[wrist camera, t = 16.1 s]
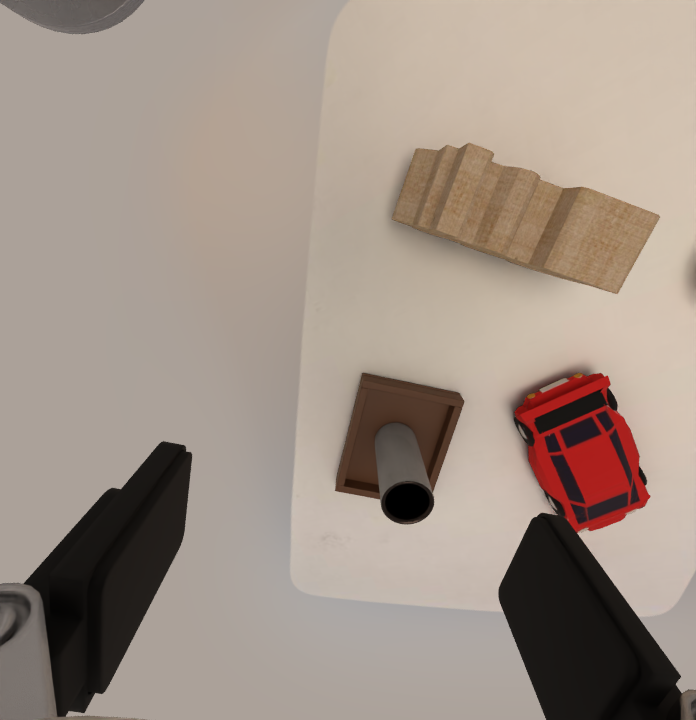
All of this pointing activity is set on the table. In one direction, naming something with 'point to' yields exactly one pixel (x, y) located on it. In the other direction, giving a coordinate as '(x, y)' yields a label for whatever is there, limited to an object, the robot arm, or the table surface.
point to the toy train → (523, 216)
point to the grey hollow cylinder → (402, 475)
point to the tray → (395, 405)
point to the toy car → (582, 451)
